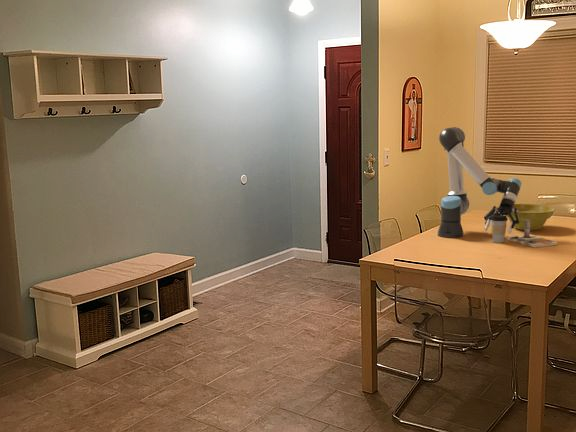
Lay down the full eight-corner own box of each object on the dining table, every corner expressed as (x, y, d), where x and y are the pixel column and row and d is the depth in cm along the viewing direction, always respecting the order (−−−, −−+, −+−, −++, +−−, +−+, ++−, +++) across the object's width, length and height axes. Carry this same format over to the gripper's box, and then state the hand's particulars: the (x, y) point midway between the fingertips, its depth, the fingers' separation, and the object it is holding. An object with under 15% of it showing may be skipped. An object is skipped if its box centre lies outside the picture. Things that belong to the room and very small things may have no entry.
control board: (507, 239, 365) (508, 220, 363) (529, 237, 370) (530, 218, 368) (534, 247, 344) (535, 227, 342) (557, 244, 350) (558, 224, 347)
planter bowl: (563, 233, 379) (564, 211, 377) (509, 234, 380) (510, 212, 377) (543, 223, 411) (544, 203, 408) (493, 224, 411) (494, 204, 409)
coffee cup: (488, 242, 359) (489, 217, 356) (491, 239, 367) (492, 214, 364) (505, 244, 354) (506, 218, 352) (508, 240, 363) (509, 215, 360)
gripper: (531, 207, 361) (520, 237, 352) (489, 203, 377) (478, 232, 368) (528, 199, 356) (517, 229, 347) (485, 196, 372) (474, 224, 363)
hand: (497, 231), depth 358 cm, fingers open, 13 cm apart
